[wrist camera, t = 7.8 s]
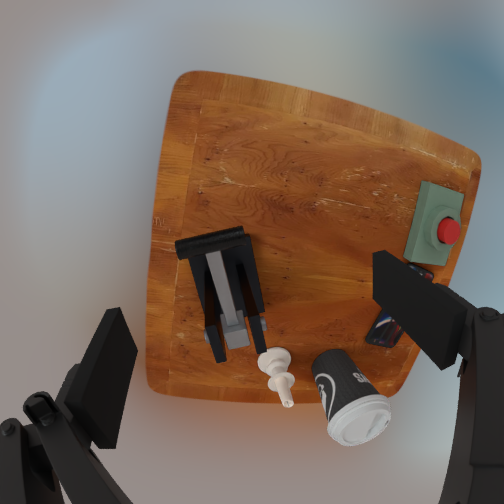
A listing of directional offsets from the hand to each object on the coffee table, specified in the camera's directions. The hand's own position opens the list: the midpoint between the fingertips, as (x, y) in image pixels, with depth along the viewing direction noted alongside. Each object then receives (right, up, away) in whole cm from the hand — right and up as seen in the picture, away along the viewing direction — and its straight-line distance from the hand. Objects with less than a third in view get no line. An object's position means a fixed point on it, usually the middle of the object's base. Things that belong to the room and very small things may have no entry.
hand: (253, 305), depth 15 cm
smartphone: (+24, -6, +32) cm, 41 cm away
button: (+28, +6, +24) cm, 38 cm away
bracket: (-3, -1, +26) cm, 26 cm away
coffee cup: (+13, -16, +34) cm, 40 cm away
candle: (+3, -14, +32) cm, 35 cm away
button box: (+28, +7, +28) cm, 40 cm away
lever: (-3, 0, +12) cm, 12 cm away
